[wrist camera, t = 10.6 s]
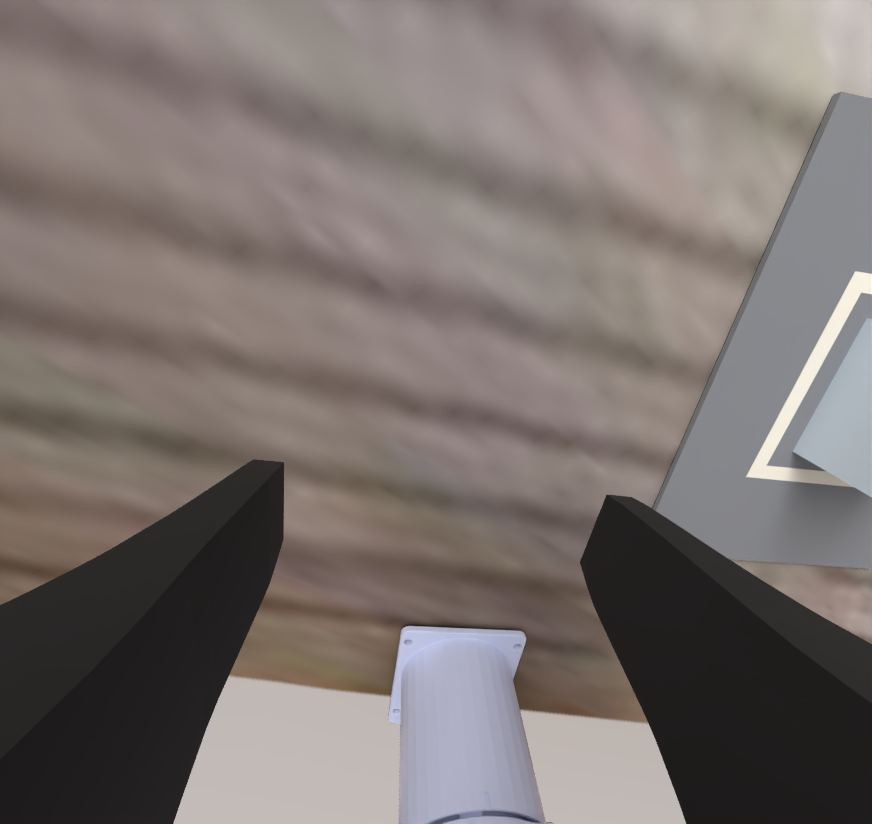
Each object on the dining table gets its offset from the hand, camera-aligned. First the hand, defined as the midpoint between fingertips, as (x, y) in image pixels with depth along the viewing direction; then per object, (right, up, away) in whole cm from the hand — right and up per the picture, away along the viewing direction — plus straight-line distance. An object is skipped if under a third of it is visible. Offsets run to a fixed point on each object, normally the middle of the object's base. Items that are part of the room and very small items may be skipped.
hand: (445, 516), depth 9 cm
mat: (+21, +3, +11) cm, 24 cm away
